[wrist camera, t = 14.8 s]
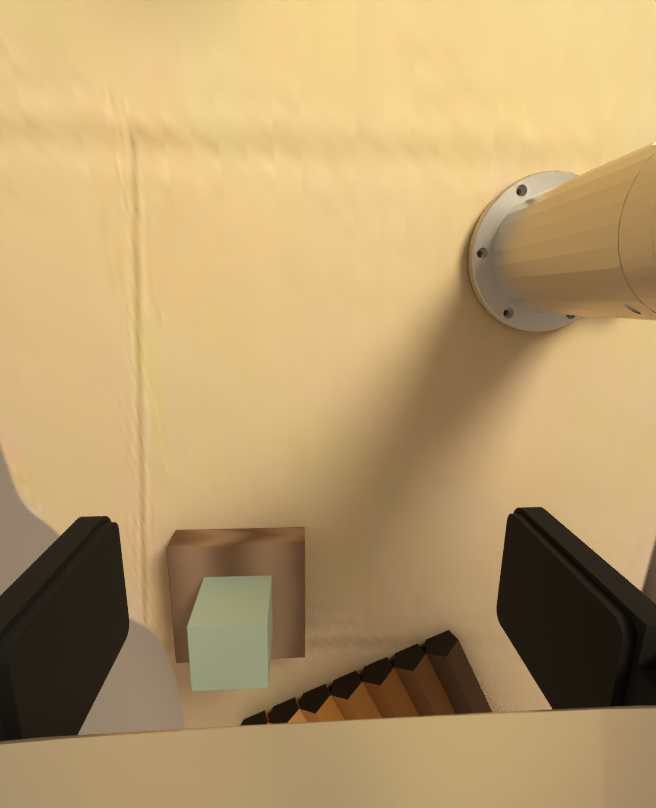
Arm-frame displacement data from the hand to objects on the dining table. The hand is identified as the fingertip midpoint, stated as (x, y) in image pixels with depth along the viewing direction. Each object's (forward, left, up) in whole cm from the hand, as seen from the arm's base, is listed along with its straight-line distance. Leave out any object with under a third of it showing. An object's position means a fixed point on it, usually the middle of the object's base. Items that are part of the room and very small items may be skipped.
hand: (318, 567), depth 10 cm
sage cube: (+6, +21, -25) cm, 33 cm away
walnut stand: (+6, +21, -28) cm, 36 cm away
